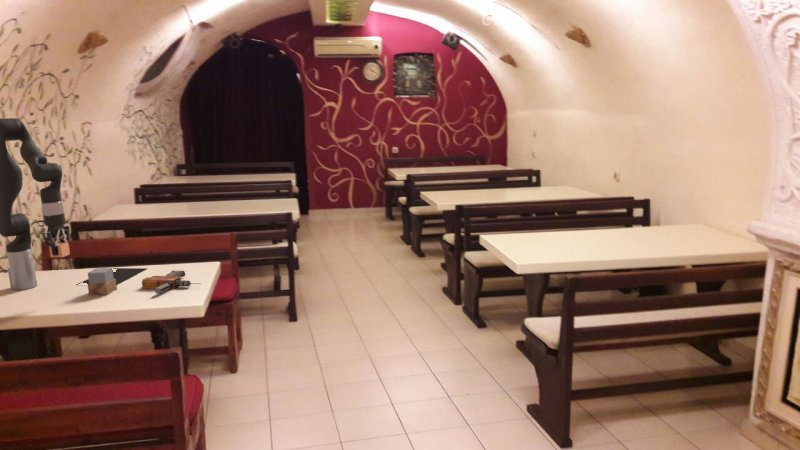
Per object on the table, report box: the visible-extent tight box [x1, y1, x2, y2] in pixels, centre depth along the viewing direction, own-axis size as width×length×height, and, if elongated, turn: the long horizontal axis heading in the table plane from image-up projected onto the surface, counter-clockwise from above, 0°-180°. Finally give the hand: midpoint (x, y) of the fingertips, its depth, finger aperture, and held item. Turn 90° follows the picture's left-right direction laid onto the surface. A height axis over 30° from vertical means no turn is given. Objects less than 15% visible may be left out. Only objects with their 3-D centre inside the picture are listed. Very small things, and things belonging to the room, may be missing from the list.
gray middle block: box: [87, 267, 114, 284], centre depth 251 cm, size 7×7×5 cm
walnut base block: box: [87, 279, 118, 296], centre depth 252 cm, size 8×8×5 cm
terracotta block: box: [48, 241, 71, 258], centre depth 241 cm, size 5×5×5 cm
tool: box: [141, 270, 202, 295], centre depth 259 cm, size 4×27×30 cm
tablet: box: [75, 267, 148, 286], centre depth 276 cm, size 27×1×20 cm
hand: (60, 253), depth 241 cm, fingers closed on terracotta block, 5 cm apart
